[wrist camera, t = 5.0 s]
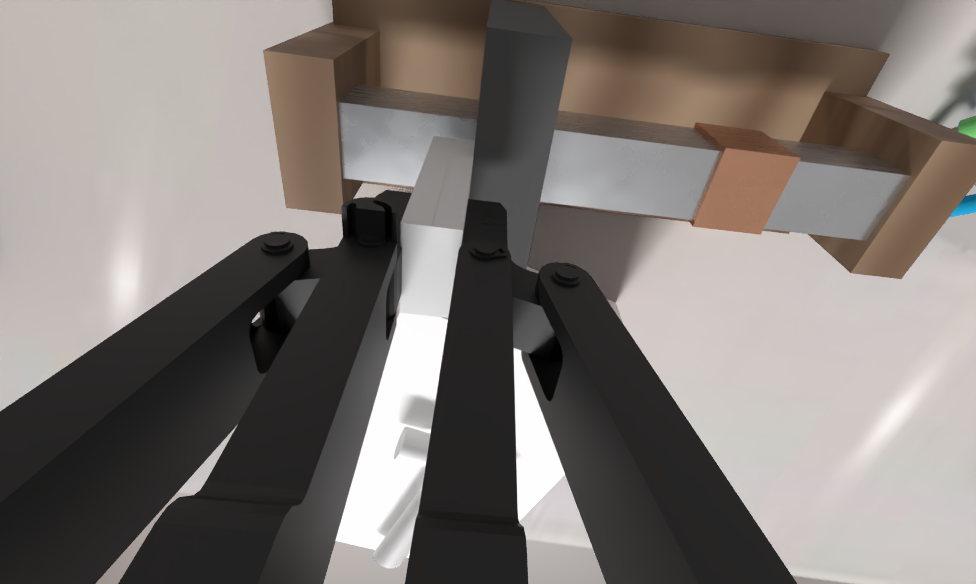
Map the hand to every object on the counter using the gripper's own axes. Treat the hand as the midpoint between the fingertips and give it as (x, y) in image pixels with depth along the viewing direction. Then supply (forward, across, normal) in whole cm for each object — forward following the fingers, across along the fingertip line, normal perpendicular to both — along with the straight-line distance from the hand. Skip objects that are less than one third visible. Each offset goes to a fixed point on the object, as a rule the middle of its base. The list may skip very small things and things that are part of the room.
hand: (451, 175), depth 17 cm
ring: (+8, +2, 0) cm, 9 cm away
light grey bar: (+5, +7, 0) cm, 9 cm away
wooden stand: (+11, +7, 0) cm, 12 cm away
